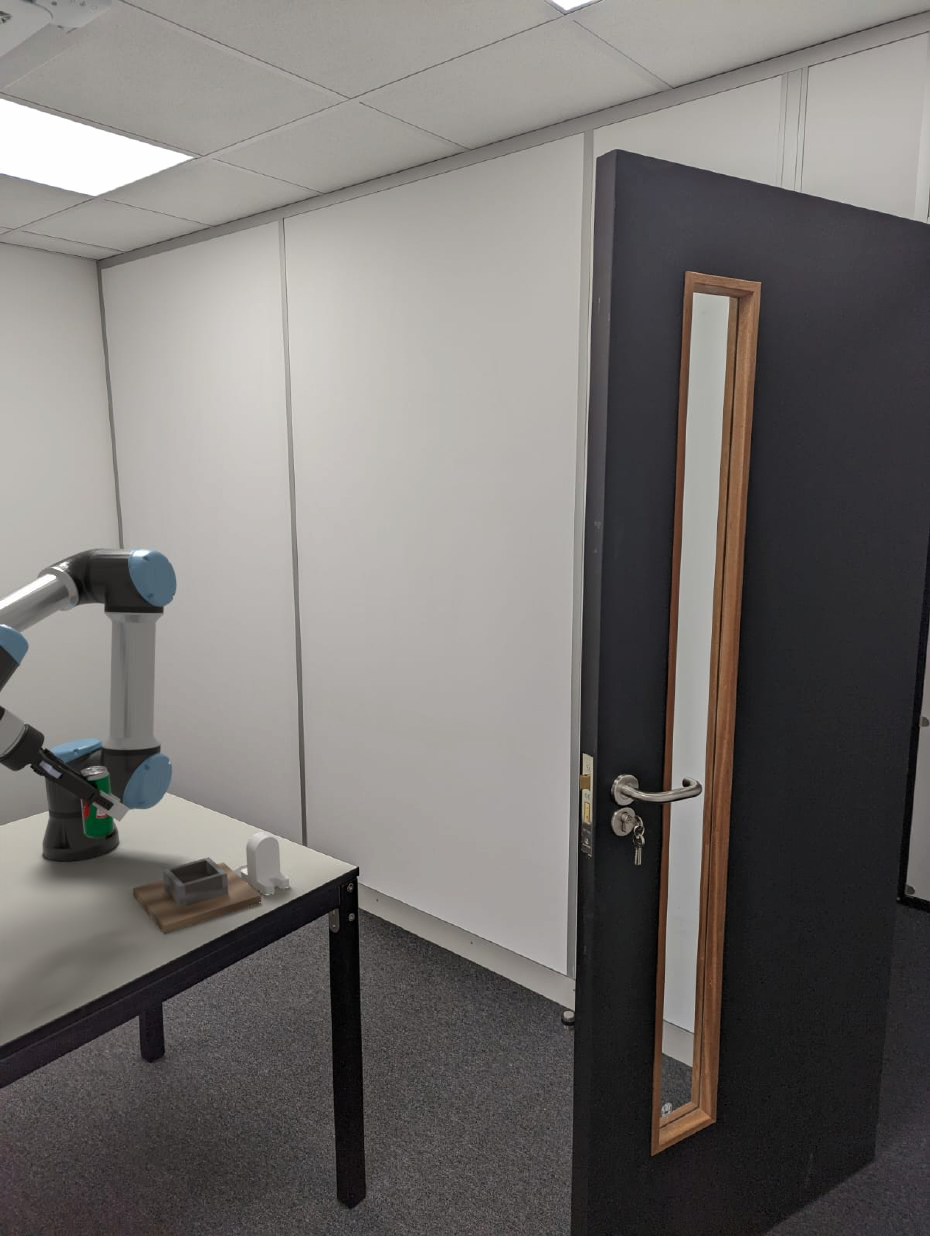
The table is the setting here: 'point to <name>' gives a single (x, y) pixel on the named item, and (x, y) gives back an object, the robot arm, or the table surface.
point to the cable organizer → (263, 864)
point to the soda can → (94, 818)
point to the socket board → (194, 894)
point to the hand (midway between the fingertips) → (119, 809)
